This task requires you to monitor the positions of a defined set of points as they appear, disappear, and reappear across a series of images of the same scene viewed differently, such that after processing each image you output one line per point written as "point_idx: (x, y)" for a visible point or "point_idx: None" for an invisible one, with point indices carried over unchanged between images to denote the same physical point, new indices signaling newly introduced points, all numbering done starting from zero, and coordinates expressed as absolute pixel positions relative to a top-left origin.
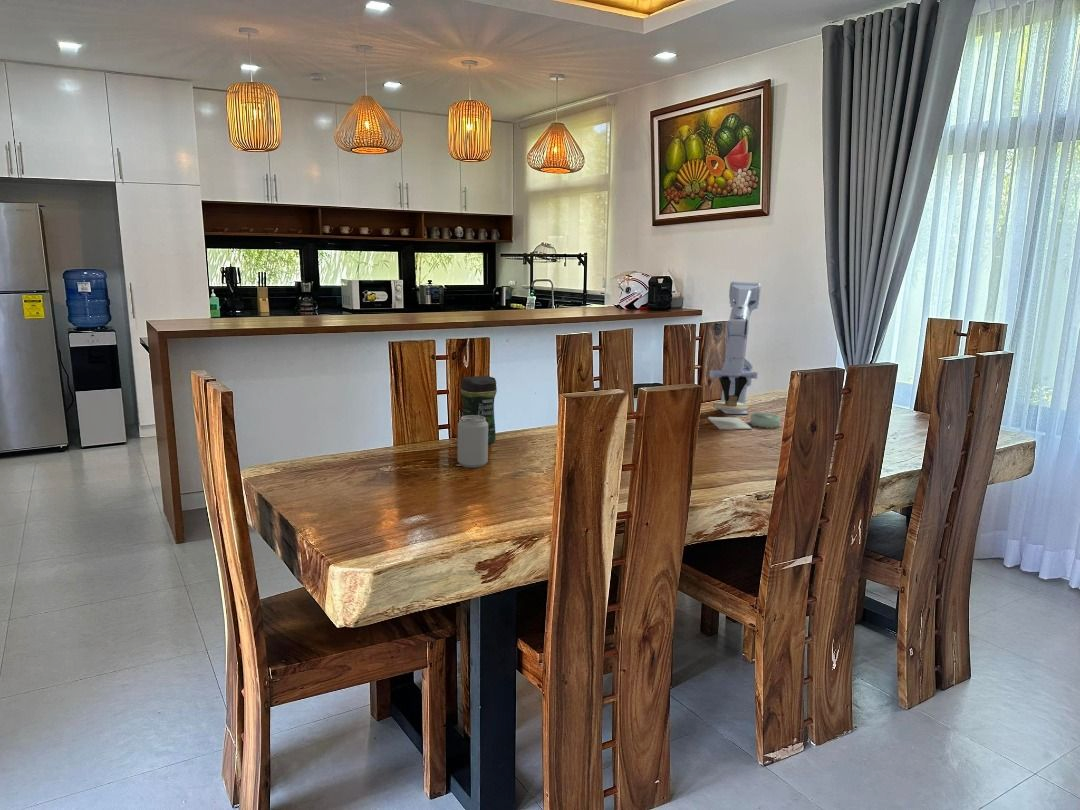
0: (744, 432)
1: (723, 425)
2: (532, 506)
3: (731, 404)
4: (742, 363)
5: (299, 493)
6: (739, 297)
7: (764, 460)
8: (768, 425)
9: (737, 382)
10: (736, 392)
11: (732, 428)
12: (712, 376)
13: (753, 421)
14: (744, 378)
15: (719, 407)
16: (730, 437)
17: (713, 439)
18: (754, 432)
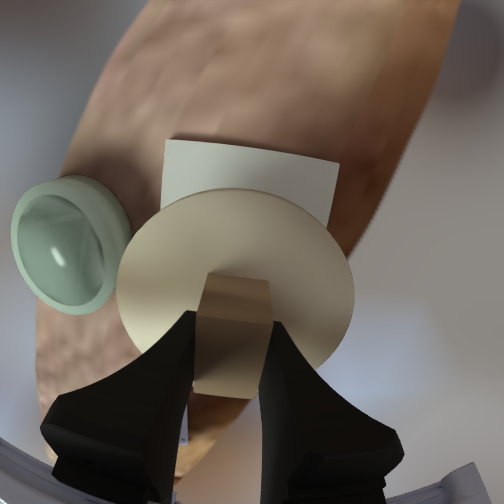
0: (233, 88)
1: (301, 200)
2: None
3: (247, 285)
4: None
5: None
6: None
7: None
8: (75, 177)
9: (166, 455)
10: (186, 372)
11: (272, 151)
12: (470, 472)
13: (121, 230)
14: (75, 469)
15: (346, 262)
16: (349, 20)
17: (426, 22)
18: (179, 88)
